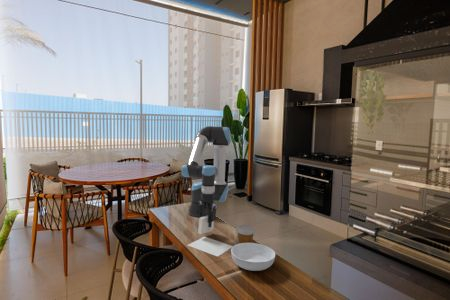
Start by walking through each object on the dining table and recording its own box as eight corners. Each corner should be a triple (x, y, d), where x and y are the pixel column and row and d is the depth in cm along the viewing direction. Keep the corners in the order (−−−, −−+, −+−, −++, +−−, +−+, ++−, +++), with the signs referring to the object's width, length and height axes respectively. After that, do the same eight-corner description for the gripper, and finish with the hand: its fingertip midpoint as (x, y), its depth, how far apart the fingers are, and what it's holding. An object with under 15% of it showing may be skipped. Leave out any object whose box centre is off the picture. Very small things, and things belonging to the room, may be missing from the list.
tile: (210, 228, 164) (211, 214, 164) (213, 229, 163) (214, 215, 162) (197, 233, 154) (199, 217, 154) (200, 234, 153) (202, 218, 152)
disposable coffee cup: (255, 248, 147) (257, 226, 146) (249, 255, 138) (251, 232, 137) (239, 244, 150) (240, 223, 150) (232, 251, 142) (234, 228, 141)
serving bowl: (284, 271, 124) (285, 256, 124) (246, 281, 114) (247, 266, 113) (256, 252, 142) (257, 239, 142) (222, 259, 132) (223, 246, 131)
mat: (204, 237, 157) (204, 236, 157) (233, 247, 146) (233, 246, 146) (187, 246, 145) (187, 245, 145) (217, 257, 134) (217, 256, 134)
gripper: (193, 191, 157) (192, 229, 160) (215, 196, 149) (213, 237, 152) (201, 188, 164) (200, 226, 166) (222, 193, 155) (220, 232, 158)
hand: (206, 231), depth 159 cm, fingers closed on tile, 2 cm apart
